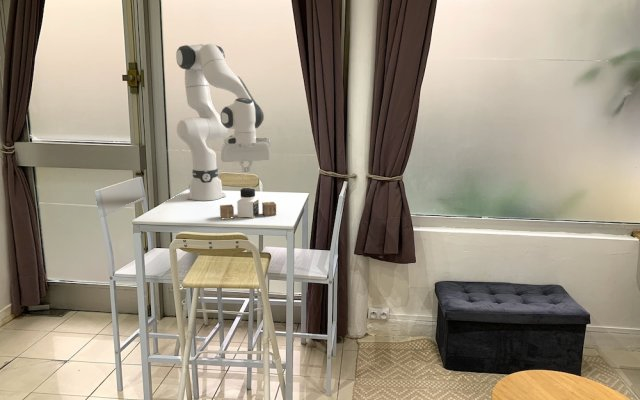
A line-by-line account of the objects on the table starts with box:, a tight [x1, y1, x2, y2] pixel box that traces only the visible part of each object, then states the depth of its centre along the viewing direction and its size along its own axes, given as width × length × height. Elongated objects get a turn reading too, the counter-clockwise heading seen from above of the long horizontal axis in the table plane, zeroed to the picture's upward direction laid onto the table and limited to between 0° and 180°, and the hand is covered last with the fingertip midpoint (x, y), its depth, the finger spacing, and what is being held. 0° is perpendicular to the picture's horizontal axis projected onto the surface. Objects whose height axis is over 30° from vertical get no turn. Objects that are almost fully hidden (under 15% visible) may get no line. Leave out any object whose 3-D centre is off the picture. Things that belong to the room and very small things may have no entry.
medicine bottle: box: [236, 187, 260, 219], centre depth 227 cm, size 7×7×12 cm
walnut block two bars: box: [261, 201, 277, 217], centre depth 230 cm, size 5×5×5 cm
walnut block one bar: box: [219, 204, 235, 219], centre depth 225 cm, size 5×5×5 cm
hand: (246, 171), depth 224 cm, fingers closed
